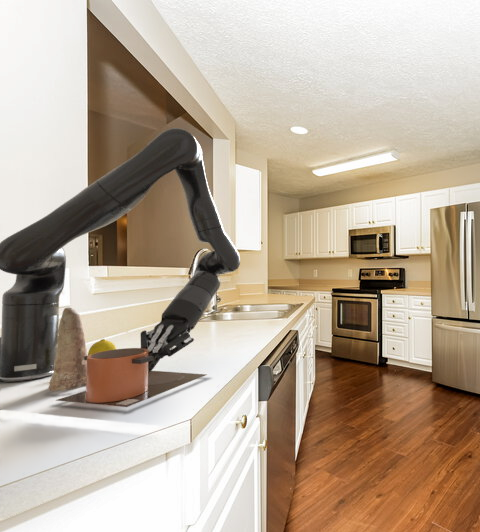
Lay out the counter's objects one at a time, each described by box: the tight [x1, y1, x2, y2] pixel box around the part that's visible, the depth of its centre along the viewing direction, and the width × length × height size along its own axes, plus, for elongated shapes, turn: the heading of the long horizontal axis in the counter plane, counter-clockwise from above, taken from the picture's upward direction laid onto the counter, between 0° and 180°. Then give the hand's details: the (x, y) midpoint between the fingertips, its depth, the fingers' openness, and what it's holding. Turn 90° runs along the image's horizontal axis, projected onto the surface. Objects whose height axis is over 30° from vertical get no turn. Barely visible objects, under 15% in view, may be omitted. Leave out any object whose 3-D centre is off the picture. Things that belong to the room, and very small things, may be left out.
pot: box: [84, 347, 154, 403], centre depth 67 cm, size 13×9×8 cm
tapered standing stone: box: [48, 307, 88, 392], centre depth 71 cm, size 6×18×6 cm
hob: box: [55, 370, 208, 408], centre depth 72 cm, size 16×20×1 cm
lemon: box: [87, 338, 117, 356], centre depth 86 cm, size 6×6×8 cm
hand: (142, 371), depth 72 cm, fingers closed
